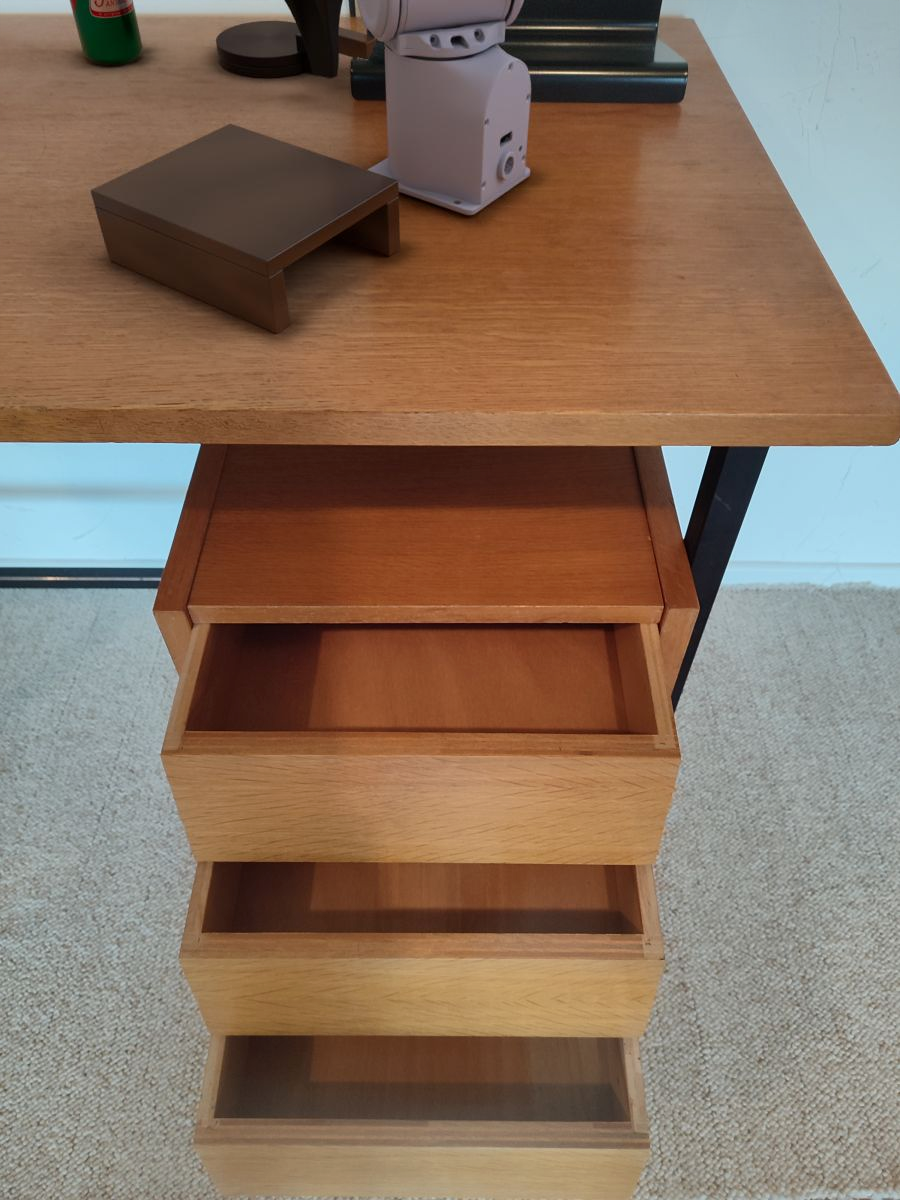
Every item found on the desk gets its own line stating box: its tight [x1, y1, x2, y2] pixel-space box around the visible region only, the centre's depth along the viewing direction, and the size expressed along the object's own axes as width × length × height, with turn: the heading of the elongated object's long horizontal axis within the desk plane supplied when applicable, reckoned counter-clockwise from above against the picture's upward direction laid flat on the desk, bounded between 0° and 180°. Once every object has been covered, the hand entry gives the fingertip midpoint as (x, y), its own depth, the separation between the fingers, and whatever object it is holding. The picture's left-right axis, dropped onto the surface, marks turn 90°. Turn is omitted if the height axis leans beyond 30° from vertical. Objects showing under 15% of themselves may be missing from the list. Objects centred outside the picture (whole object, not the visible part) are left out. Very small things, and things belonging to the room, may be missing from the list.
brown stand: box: [90, 123, 401, 334], centre depth 57 cm, size 14×12×4 cm
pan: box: [215, 20, 377, 79], centre depth 79 cm, size 16×9×4 cm, turn 55°
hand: (354, 60), depth 77 cm, fingers open, 7 cm apart
